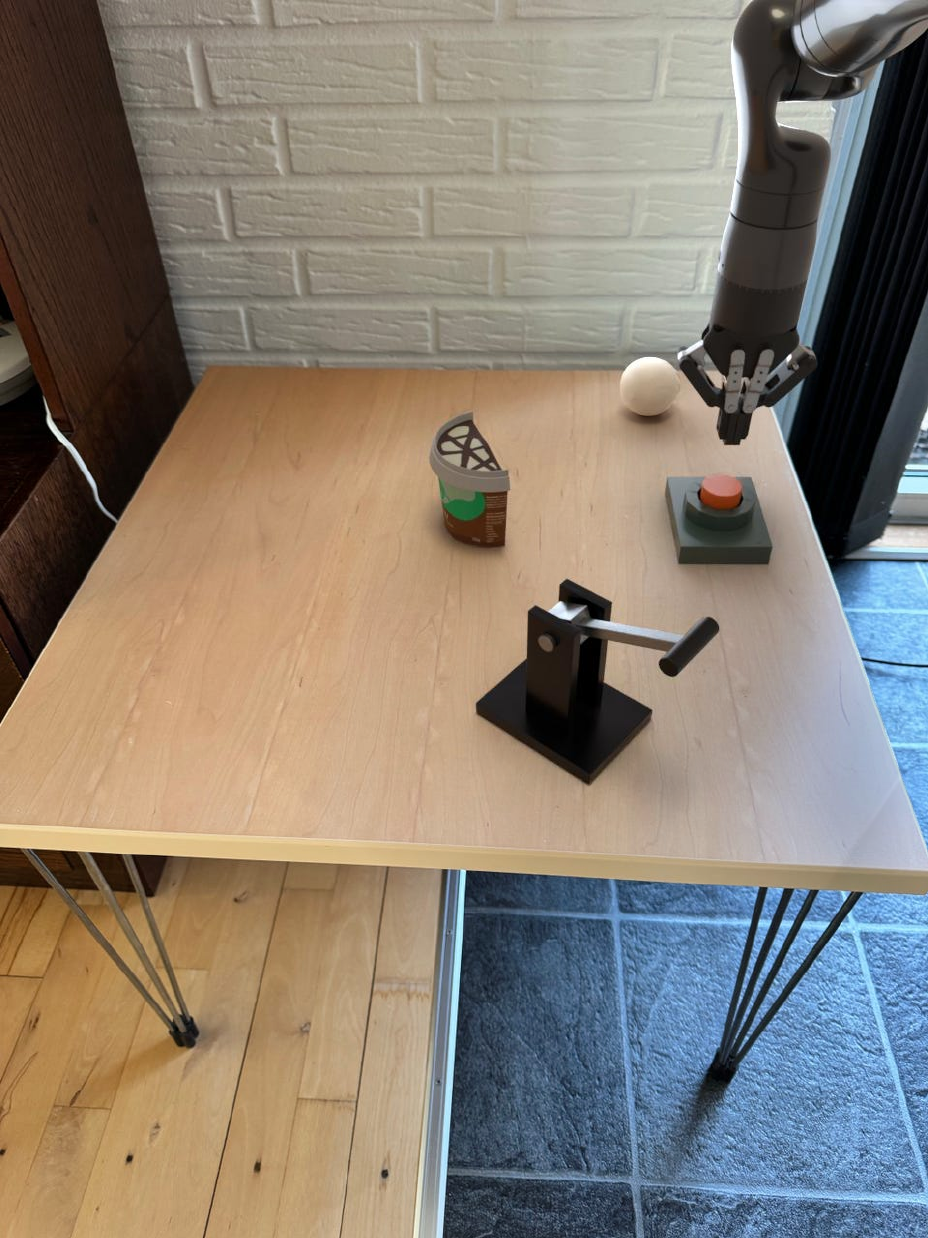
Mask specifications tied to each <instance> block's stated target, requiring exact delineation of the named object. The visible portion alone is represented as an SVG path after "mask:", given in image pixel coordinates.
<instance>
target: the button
mask: <svg viewBox="0 0 928 1238" xmlns="http://www.w3.org/2000/svg"><path fill="white" fill-rule="evenodd" d="M705 477H706V478H705V479H704V480H703V482H702V487H701V493H700V499H701V502H702V503H703V504H704V505H706V506H708V507H711V508H714V509H718V510H730V509H733V508H735V507H737V506H738V504H739V503H740V498H741V494H742V489H743V487H742V484H741V482H740V481H739V480H738V479H736V478H735V477H736V476H732V475H729V474H725V473H714V474H711V475H708V476H705Z"/></svg>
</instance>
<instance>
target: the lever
mask: <svg viewBox="0 0 928 1238" xmlns="http://www.w3.org/2000/svg"><path fill="white" fill-rule="evenodd" d="M547 611H548V612H549V613H551V614H553V615H555V616H557V617H559V618H560V619H562V620H564V621H566V622H568V623H570V624H571V625H573V626H575V627H577V628H579V629H581V639H580V644H581V643H582V642H583V641H585V640H586V639H587V638H588V637H594V638H599V639H604V640H608V642H615V643H620V644H625V645H629V646H635V647H639V648H640V647H641V648H645V649H650V650H655V651H660V652H666V653H665V654H664V655H663V656H662V657H660V659H659V661H658V667H659V670H660V671H661V672H662V674H664V675H665V676H667V677H670V678H676V677H677V676H678V675H679V674H680V673H681V672H682V671H683V670H684V669H685V668H686V667H687V666H688V665H689V664H690V663H691V662H692V661H693V660H694V659H695V658H696V656H698V655H699V653H700V652H701V651H702V650H703V649H705V648H706V646H707V645H708V644H709V643H710V642H711V641H712V640H713V639H714V638H715V637H716V636H717V635H718V634H719V632H720V625H719V622H718V621H717V620H716V619H715V618H713V617H711V616H708V615H707V616H706V615H705V616H702V617H701V618H700V619H699V620H698V621H697V622H696V623H695V624H694V625H693V626H692V627H691V628H690V629H689V630H688V631H686V633H685V634H680V633H674V632H669V631H663V630H660V629H659V630H658V629H652V628H647V627H642V626H636V625H630V624H624V623H619V622H615V621H610V622H609V621H603V620H598V619H592V618H591V617H590V613H589V610H588V606H586V605H580V604H574V603H568V602H562V601H560V602H557V603H556V604H555V605H554V606H553V607H551V608H550V609H549V610H547Z"/></svg>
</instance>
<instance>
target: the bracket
mask: <svg viewBox="0 0 928 1238" xmlns="http://www.w3.org/2000/svg"><path fill="white" fill-rule="evenodd" d="M558 586H559V587H558V602H560V601H562V602H568V603H574V604H580V605H586V606H588V610H589V613H590V617H591V618H592V619H598V620H603V621H609V622H611V618H612V607H613V602H612V601H611V600H610V599H607V598H606V597H603V596H601V595H600V594H597V593H595V592H594V591H592V590H590V589H588V588H587V587H585V586H583V585H580V584H579V583H576V582H574V581H573V580H571V579H569V578H565V579H564V580H563V581H562V582H560V584H559V585H558ZM558 602H557V603H558ZM548 611H549V610H546V609H544V608H542V607H541V606H539V605H537V604H534V605H533V606H532V607H530V609H528V611H527V621H526V622H527V625H526V626H527V627H526V658H525V659H523V661H521V663H519V664H518V665H517V666H516V667H515V668H514V669H513V670H511V671H510V672H509V673H507V675H506V676H504V677H503V678H502V679H501V680H500V681H498V683H497V684H495V685H494V686H493V687H492V688H490V690H489V691H488V692H486V693H485V694H484V695H483V696H482V697H481V698H480V699H478V700H477V701H476V702H475V712H476V714H478V715H479V716H480V717H482V718H483V719H485V720H487V721H489V722H490V723H491V724H493V725H495V726H496V727H498V728H499V729H501V730H503V731H504V732H505V733H507V734H509V735H510V736H512V737H514V738H515V739H517V740H518V741H520V742H521V743H523V744H525V745H526V746H527V747H529V748H531V749H532V750H534V751H535V752H537V753H538V754H540V755H542V756H543V757H545V758H546V759H548V760H550V761H551V762H552V763H554V764H555V765H557V766H559V767H561V768H562V769H564V771H566V772H568V773H570V774H571V775H573V776H575V778H577V779H579V780H580V781H582V782H584V783H585V784H587V785H591V783H593V781H594V780H596V778H597V777H598V776H599V775H600V774H601V772H603V771H604V770H605V769H606V767H607V766H609V764H611V762H612V761H613V760H614V759H615V758H616V757H617V756H618V755H619V754H620V753H621V752H622V751H623V750H624V749H625V748H626V746H628V745H629V743H630V742H631V741H633V739H634V738H635V737H636V736H637V735H638V734H639V733H640V732H641V731H642V730H643V729H644V728H645V727H646V726H647V725H648V724H649V722H651V721H652V716H653V709H652V708H650V707H648V706H646V705H645V704H643V703H641V702H640V701H638V700H636V699H635V698H632V697H631V696H629V695H628V694H626V693H624V692H622V691H620V690H619V689H617V688H616V687H614V686H611V685H610V684H608V683H606V682H605V675H606V666H607V657H608V647H609V640H604V639H599V638H594V637H588V638H587V639H586V640H585V641H583V642H582V643H581V644H580V639H581V629H579V628H577V627H575V626H573V625H571V624H570V623H568V622H566V621H564V620H562V619H560V618H559V617H557V616H555V615H553V614H551V613H549V612H548Z"/></svg>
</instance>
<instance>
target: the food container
mask: <svg viewBox="0 0 928 1238" xmlns="http://www.w3.org/2000/svg"><path fill="white" fill-rule="evenodd" d="M428 458H429V465H430V467H431V470H432V471H433V473H434V474H435V475H436V476H437V480H438V486H439V494H440V501H441V508H442V513H443V515H442V517H443V521H444V523H443V524H444V527H445V530H446V531H447V533H448V534H449V535H450V536H451V537H452V538H454V539H455V540H457V541H458V542H460V543H463V544H465V545H469V546H473V547H478V548H497V547H503V546H505V545H506V532H507V511H508V493H509V491H511V483H510V476H509V475H510V473H509V469H502V468H501V466H500V464H499V462H498V461H497V458H496V456H495V454H494V453H493V450H492V448H491V446H490V445H489V443H488V442H487V440H486V439H485V438H484V437H483V435H482V434H481V432H480V431H479V428H478V427H477V426H476V424H475V422H474V411H473V410H472V411H469V412H468V411H467V412H465V413H461V414H458V415H456V416H453V418H450V419H448V420H447V421H445V422H444V423H443V424H442V425H440V426H439V428H438V429H437V431H436V432H435V434H434V437H433V439H432V441H431V447H430V452H429V457H428Z"/></svg>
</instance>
